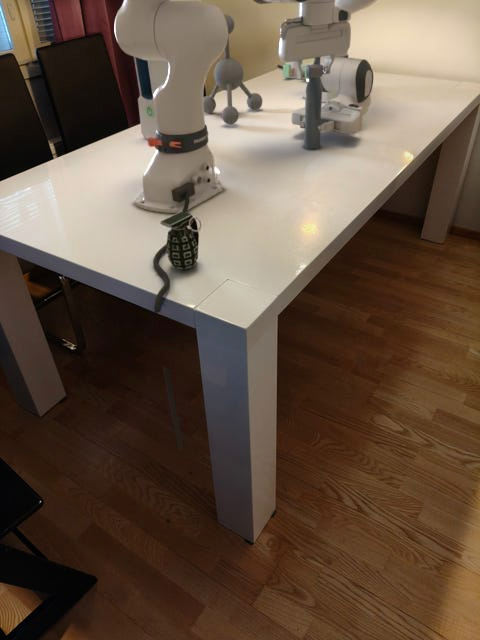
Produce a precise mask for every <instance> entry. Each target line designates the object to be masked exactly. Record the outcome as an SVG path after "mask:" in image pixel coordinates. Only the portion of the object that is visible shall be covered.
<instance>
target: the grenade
mask: <svg viewBox="0 0 480 640" xmlns="http://www.w3.org/2000/svg"><path fill="white" fill-rule="evenodd" d="M198 222H199V226H198ZM159 224H160V225H162V226H164V227H166V228H169V230H168V231H167V236H166V244H167V249H166V254H167V259H168V261H169V263H170V265H171V266H172V267H174V268H176V269H178V270H181V271H186V270H189V269H192V267H194V266H195V265H196V264H197V262H198V261H197V260H198V259H199V243H200V241H199V240H200V233H199V232H200V231H201V228H202V221H201V220H200V219H199V218H198V217H197V216H194V215H193V214H192V213H189V212H188V211H187V212H184V211H181V212H179V213H174V214H172V215H170V216H169V217H166V218H165V219H162V220H160V222H159ZM198 227H199V228H198Z"/></svg>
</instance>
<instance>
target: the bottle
mask: <svg viewBox="0 0 480 640" xmlns="http://www.w3.org/2000/svg"><path fill="white" fill-rule="evenodd" d="M305 93H306V98H304V99H305V100H304V101H305V104H304V107H305V129H304V131H303V132H304V135H303V148H304V149H306V150H311V151H313V150H318V149H320V146H321V132H320V131H318V125H319V124H321V108H322V106H323V104H322V103H323V102H322V85H321V81H320V77H316V78H311V77H309V81H307V84H306V87H305Z"/></svg>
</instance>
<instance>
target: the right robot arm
mask: <svg viewBox="0 0 480 640" xmlns="http://www.w3.org/2000/svg"><path fill="white" fill-rule="evenodd" d="M377 1H378V0H335V6H337V7H340V8H343V9H346V10H349V11H350V12H351V15H353V14H355V13H358V12H361V11H362V10H364V9H365V10H366V8H369V7H370V6H372V5H374V3H376V2H377ZM348 52H349V50H348V51H347V52H346V53H340V54H335V60H334V62H333V64H332V66H331V69H330V74H326V75H324V74H323V76H321V77H320V81H321V85H322V103H324V104H322V107H321V124H319V125H318V131H320V133H324V132H326V131H328V132H337V133H343V134H348V135H350V134H351V135H352V134H355V133H357V132H358V131H360V130H361V129H362V125H363V117H364V116H365V115H366V114H367V113H368V111H369V109H370V107H371V103H372V97H371V93H372V89H373V85H374V71H373V69H372V66H371V64H370V63H369V61H368V60H367V59H363V58H355V57H349V54H348ZM326 61H327V59H326V56H323V57H317V58H315V59H314V63H313V65H314V64H318V65H323V66H325V64H326ZM277 67H278V68H280V69H283V65H280V64H277ZM305 80H306V81H305V82H308V81H309V79H305ZM303 98H304V99H305V98H306V92H305V93H304V94H303ZM291 123H292V125H296V126H299V128H300V129H302V130H303V129H304V130H305V106H304V107H301V108H300V107H299V108H297V109H294V110H293V111H292V112H291Z"/></svg>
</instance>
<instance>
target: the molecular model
mask: <svg viewBox="0 0 480 640" xmlns="http://www.w3.org/2000/svg"><path fill="white" fill-rule="evenodd" d="M223 15H224V17H225V19H226V23H227V27H228V40H227V44H226V47H225V50H224V57H223V58H222V59H220V60H219V61H218V62H217V63H216V65H215V66H214V70H213V79H214V82H215V85H214V87H213V89H212V92H211V94H210V95H205V96H203V99H204V113H205V114H211V113H213V112H215V110H216V108H217V102H216V100H215V96H216V94H217V93H218V90H219V89H221V90H223V91H226V99H227V100H226V101H227V102H226V104H227V106H226V107H224V108H223V110H222V112H221V118H222V121H223V122H224V123H225V124H227V125H234V124H236V123H237V121H238V119H239V117H240V116H239V115H240V114H239V111H238V109H237V108H236V107H235V106H233V98H232V97H233V92H232V91H235V90H236V89H238V88H240V89H241V90H242V91H243V93H244V94H245V96H247V99H246V104H247V107H248V108H249V109H250V110H252V111H257V110H260V108H261V107H262V106H263V97H262V96H261V95H260V94H259V93H257V92H253V93H252V92H251V91H250V90H249V89H248V88H247V87H246V85H245V84H244V83H243V80H244V69H243V67H242V64H241V63H240V62H239V61H238V60H237V59H236V58H233V57H231V55H230V37H229V35H230V34H232V33H233V31H234V29H235V20H234V19H233V17H232V16H231V15H229V14H228V13H227V14H224V13H223Z"/></svg>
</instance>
